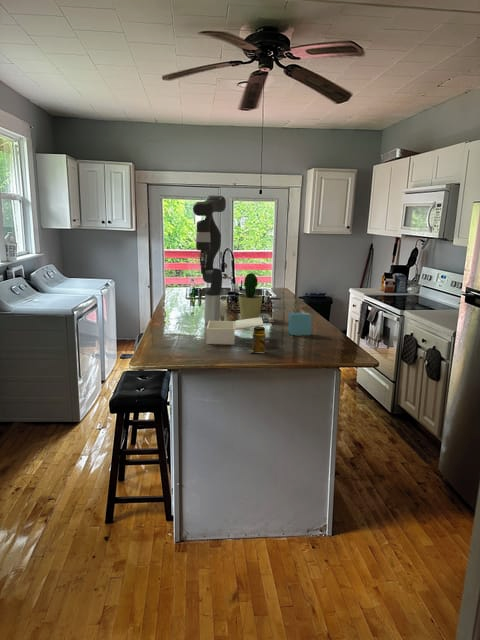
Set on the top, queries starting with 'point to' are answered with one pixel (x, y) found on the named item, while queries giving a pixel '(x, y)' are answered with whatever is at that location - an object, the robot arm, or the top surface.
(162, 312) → the top surface
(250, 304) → the potted cactus
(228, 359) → the top surface
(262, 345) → the condiment
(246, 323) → the lid
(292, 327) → the data package
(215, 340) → the box
